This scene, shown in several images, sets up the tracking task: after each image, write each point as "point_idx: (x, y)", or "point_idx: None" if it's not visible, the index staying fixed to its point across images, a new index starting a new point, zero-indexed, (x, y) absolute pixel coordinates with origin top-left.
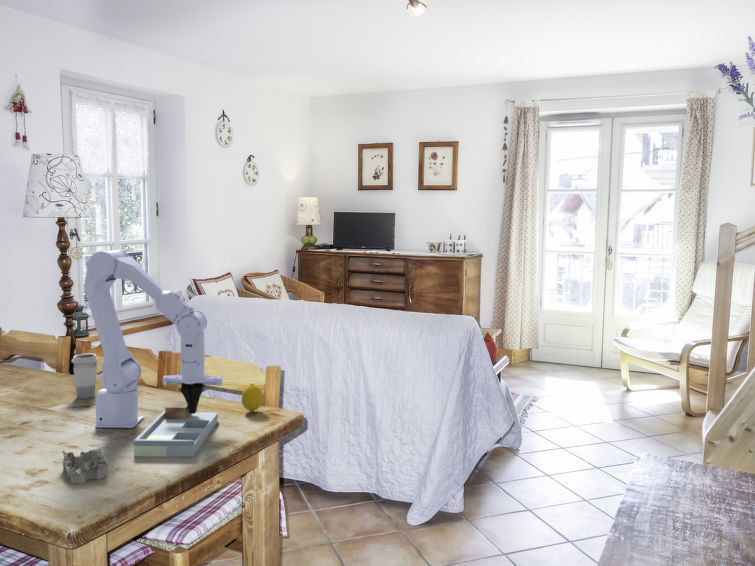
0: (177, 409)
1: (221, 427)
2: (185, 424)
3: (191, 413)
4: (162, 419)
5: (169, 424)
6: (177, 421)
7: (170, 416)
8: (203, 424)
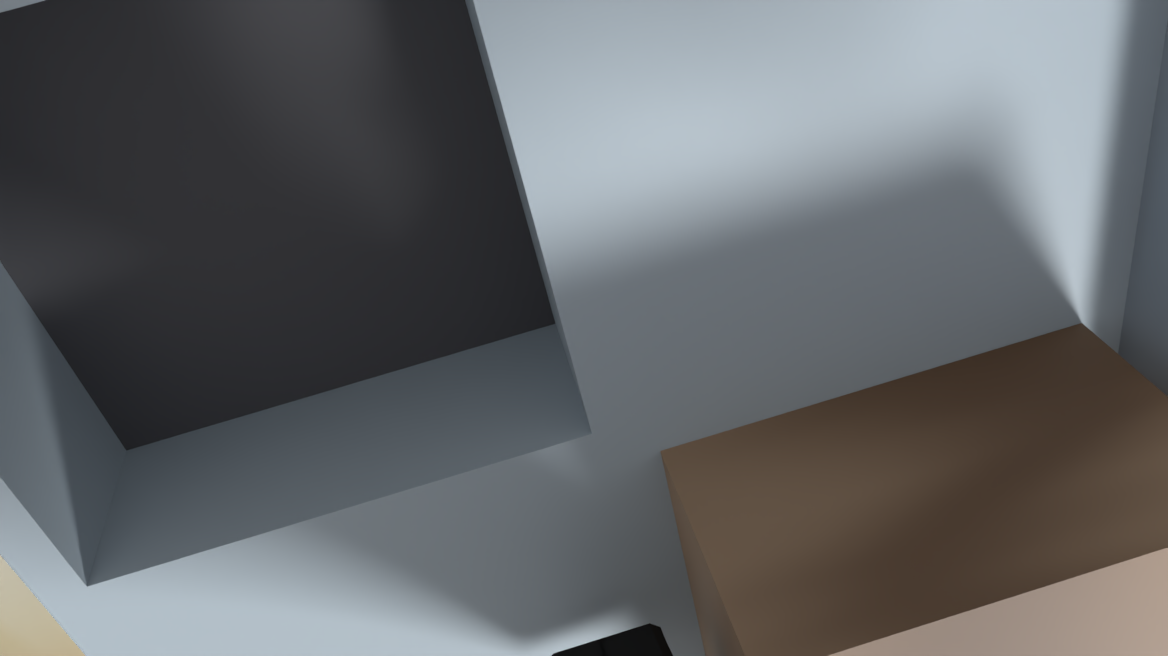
0: (943, 566)
1: (19, 589)
2: (544, 263)
3: (615, 637)
4: (1136, 271)
5: (892, 52)
6: (777, 292)
7: (1011, 392)
8: (244, 472)
